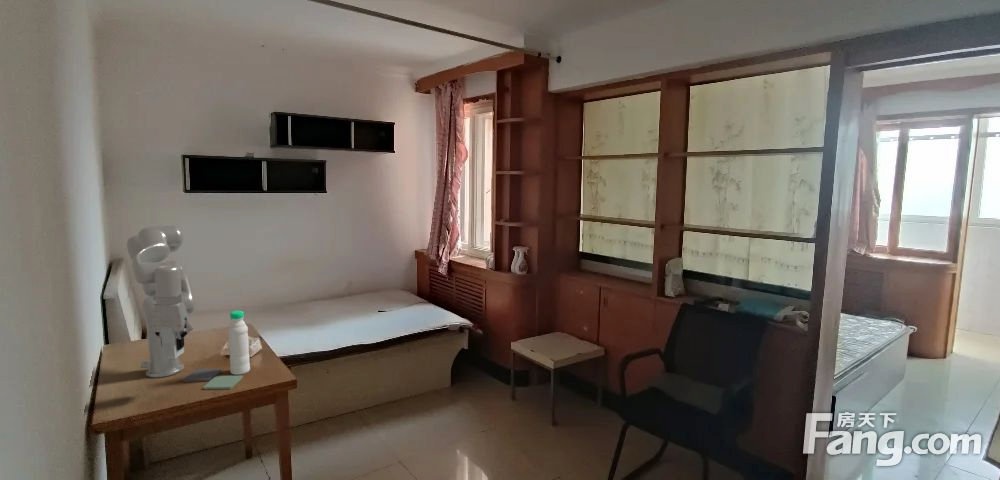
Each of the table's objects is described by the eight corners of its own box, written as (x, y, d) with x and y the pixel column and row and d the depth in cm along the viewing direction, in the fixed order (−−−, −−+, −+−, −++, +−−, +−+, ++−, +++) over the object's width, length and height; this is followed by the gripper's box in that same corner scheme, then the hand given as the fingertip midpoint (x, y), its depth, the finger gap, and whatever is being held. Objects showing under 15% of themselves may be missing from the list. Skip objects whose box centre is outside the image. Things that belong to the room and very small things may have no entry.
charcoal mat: (182, 381, 184) (182, 379, 184) (196, 370, 194) (196, 368, 194) (209, 381, 185) (209, 379, 185) (222, 370, 195) (222, 368, 195)
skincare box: (172, 352, 177) (170, 321, 175) (184, 352, 177) (182, 321, 175) (162, 359, 171) (159, 326, 169) (175, 359, 171) (172, 327, 169)
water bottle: (254, 370, 196) (250, 311, 192) (238, 376, 190) (234, 315, 186) (242, 366, 199) (238, 308, 195) (226, 373, 192) (222, 313, 189)
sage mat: (202, 389, 178) (202, 387, 178) (216, 377, 188) (216, 375, 188) (230, 388, 179) (230, 386, 179) (242, 377, 189) (242, 375, 189)
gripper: (137, 302, 166) (141, 352, 169) (188, 303, 168) (191, 352, 171) (151, 296, 174) (155, 344, 177) (199, 297, 175) (203, 344, 178)
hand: (173, 348), depth 174 cm, fingers closed on skincare box, 4 cm apart
